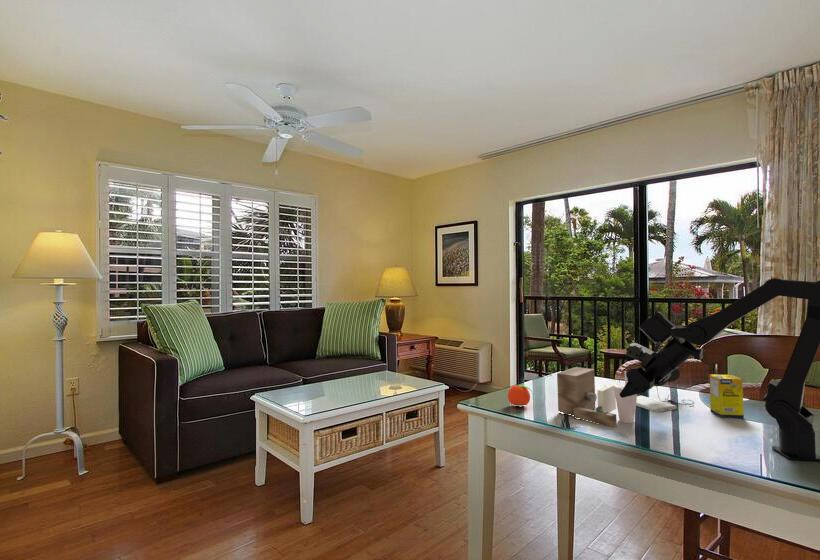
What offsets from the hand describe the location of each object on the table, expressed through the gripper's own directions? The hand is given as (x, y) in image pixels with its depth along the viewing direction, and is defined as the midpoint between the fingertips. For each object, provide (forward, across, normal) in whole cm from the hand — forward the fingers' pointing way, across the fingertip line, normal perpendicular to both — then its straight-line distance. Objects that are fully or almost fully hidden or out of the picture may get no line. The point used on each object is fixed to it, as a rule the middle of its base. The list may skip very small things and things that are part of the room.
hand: (626, 392), depth 120 cm
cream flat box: (+8, +1, +1) cm, 9 cm away
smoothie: (+6, 0, +6) cm, 8 cm away
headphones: (+3, -27, +8) cm, 28 cm away
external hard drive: (+7, -20, +6) cm, 22 cm away
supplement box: (-7, -24, +19) cm, 31 cm away
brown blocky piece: (+12, +1, -1) cm, 12 cm away
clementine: (+26, +7, -15) cm, 31 cm away
